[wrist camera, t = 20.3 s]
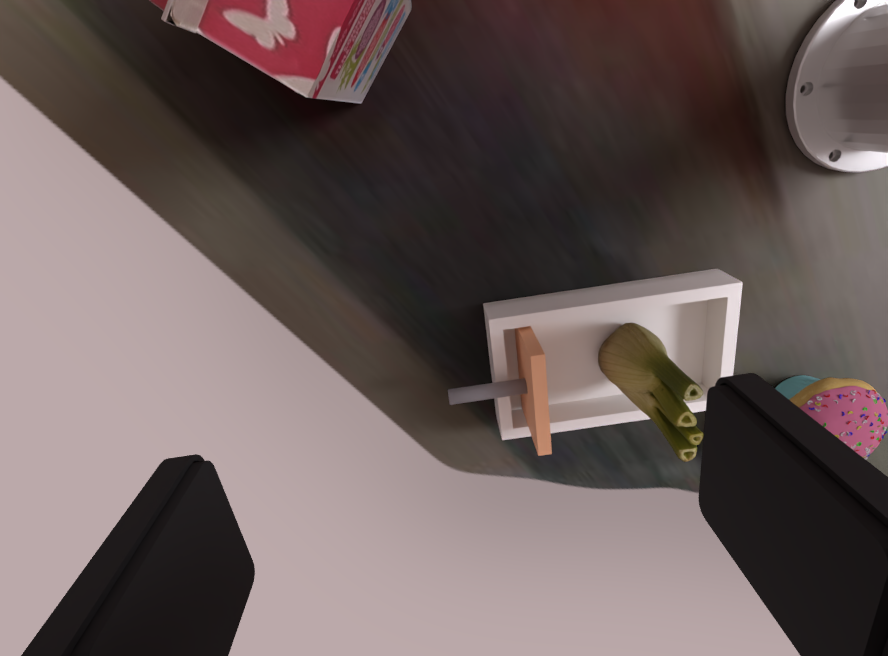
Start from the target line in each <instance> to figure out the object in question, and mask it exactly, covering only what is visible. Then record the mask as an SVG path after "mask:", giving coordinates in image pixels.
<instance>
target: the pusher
mask: <svg viewBox="0 0 888 656" xmlns="http://www.w3.org/2000/svg"><path fill="white" fill-rule="evenodd" d="M515 339H516V350H517V361H518V372H519V379H515V380H508V381H501V382H494V383H488V384H481V385H474V386H467V387H460V388H454V389H448V396H449V403H450V405H453V404H459V403H466V402H473V401H480V400H487V399H494V398H500V397H507V396H514V395H521V404H522V410H523V413H524V415H525V418H526V421H527V424H528V427H529V430H530V433H531V436H532V439H533V441H534V444H535V447H536V450H537V453H538V456H541V455H548V454H552V449H551V434H550V419H549V404H548V389H547V374H546V359H545V353H544V351H543V349H542V347H541V345H540V343H539V341H538V339H537V338H536V336H535V334H534V332H533V330H532V328H531V326H527V327H521V328H515Z"/></svg>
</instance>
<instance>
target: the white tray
mask: <svg viewBox="0 0 888 656" xmlns="http://www.w3.org/2000/svg"><path fill="white" fill-rule="evenodd" d="M742 284H743V282H741V281H740V280H738V279H736V278H734V277H732V276H730V275H728V274H726V273H725V272H723V271H721V270H719V269H710V270H703V271H697V272H690V273H683V274H676V275H670V276H663V277H656V278H650V279H643V280H636V281H629V282H623V283H616V284H609V285H603V286H596V287H589V288H582V289H576V290H569V291H562V292H556V293H549V294H542V295H535V296H529V297H522V298H515V299H509V300H502V301H495V302H488V303H483V308H484V316H485V325H486V334H487V342H488V351H489V359H490V368H491V376H492V383H494V382H501V381H508V380H515V379H519V372H518V361H517V350H516V339H515V328H521V327H527V326H531V328H532V330H533V332H534V334H535V336H536V338H537V339H538V341H539V343H540V345H541V347H542V349H543V351H544V353H545V359H546V374H547V389H548V404H549V419H550V433H556V432H563V431H570V430H577V429H584V428H590V427H597V426H604V425H611V424H618V423H625V422H632V421H639V420H646V419H651V418H649V417H648V416H647V415H646V414H645V413H644V412H642V411H641V410H640V409H639V408H638V407H637V406H636V405H635V404H634V403H632V402H631V400H630V399H629V398H628V397H627V396H626V395H625V394H624V393H622V391H621V390H620V389H619V388H618V387H617V386H616V385H615V384H613V383H612V382H611V381H609V380H608V378H607V377H606V375H605V374H603V373H602V371H601V370H600V367H599V364H598V353H599V349H600V347H601V345H602V343H603V342H604V341H605V340H606V339H607V338H608V337H609V336H610V335H611V334H612V333H613V332H615V331H616V330H617V329H618V328H619V327H620V326H621V325H623V324H625V323H636V324H638V325H640V326H643V327H645V328H646V329H648V330H650V331H651V332H652V333H653V334H655V335H656V336H657V337H658V338H659V339H660V340H661V341H662V343H663V345H664V346H665V348H666V350H667V355H668V357H669V358H670V359H671V360H672V361H673V362H674V363H675V364H676V365H677V366H678V367H679V368H680V369H681V370H682V371H683V372H684V373H685V374H686V375H687V376H688V377H690V378H691V379H692V380H693V381H694V382H695V383H697V384H698V385H699V386H700V388H701V389H702V390H703V395H702V396H701V398H699V399H696V400H690V401H685V400H684V402H685V403H686V405H687V406H688V407H689V409H690V410H691V412H692V413H694V412H701V411H706V402H707V393H708V390H709V388H710V387H713V386H715V384H716V382H717V380H718V379H719V378H721V377H727V376H733V370H734V360H735V351H736V341H737V332H738V322H739V313H740V303H741V294H742ZM494 402H495V410H496V418H497V422H498V426H499V429H500V433H501V437H502V440H508V439H515V438H522V437H528V436H531V433H530V430H529V427H528V424H527V421H526V418H525V415H524V413H523V410H522V404H521V395H514V396H507V397H500V398H494Z"/></svg>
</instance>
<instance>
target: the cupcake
mask: <svg viewBox="0 0 888 656" xmlns="http://www.w3.org/2000/svg"><path fill="white" fill-rule="evenodd" d="M775 389H776V390H777V391H778V392H780V393H781V394H782V395H784V396H785V397H786V398H787V399H789V400H790V401H791V402H793V403H794V404H795V405H796V406H798V407H799V408H800V409H801V410H803V411H804V412H805V413H807V414H808V415H809V416H810V417H812V418H813V419H814V420H815V421H817V422H818V423H819V424H821V425H822V426H823V427H824V428H826V429H827V430H828V431H830V432H831V433H832V434H833V435H835V436H836V437H837V438H838V439H840V440H841V441H842V442H844V443H845V444H846V445H847V446H849V447H850V448H851V449H852V450H854V451H855V452H856V453H858V454H859V455H860V456H861V457H863V458H864V459H867V456H869V455H870V454H871V453H872V452H873V451H874V450H875V449H876V447H877V446H878V445H879V443H880V441H881V439H882V438H883V436H884V435H885V434H886V433H887V425H888V411H887V407H886V404H885V402H886V401H885V399H883V398H882V397H881V396H880V394H879V393H877V392H876V390H875V389H874V388H873V387H872V386H870V385H869V384H867V383H866V382H864V381H861V380H856V379H851V378H843V379H837V378H831V377H829V378H825V379H822V380H821V379H817V378H813V377H810V376H805V375H800V376H794V377H791V378H788V379H786V380H785V381H783V382H781V383H780V384H779V385H778V386H777V387H776V388H775Z"/></svg>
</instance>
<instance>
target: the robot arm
mask: <svg viewBox="0 0 888 656" xmlns="http://www.w3.org/2000/svg"><path fill="white" fill-rule="evenodd" d="M786 117H787V121H788V126H789V130H790V133H791V135H792V137H793V139H794V141H795V144H796V145H797V146H798V147H799V149H800V150H801V151H802V153H803V154H804V155H805V156H806V157H808V158H809V159H810V160H812V161H813V162H814V163H816V164H818V165H820V166H823V167H825V168H827V169H831V170H837V171H842V172H857V173H861V172H868V171H874V170H878V169H881V168H884V167H887V166H888V0H836V1H835V2H834V3H832V5H831V6H830V7H829V8H828V9H827V10H826V11H825V12H824V13H823V14H822V15H821V16H820V18H819V19H818V20H817V21H816V23H815V24H814V26H813V27H812V28H811V30H810V31H809V33H808V34H807V36H806V37H805V39H804V41H803V43H802V45H801V47H800V49H799V51H798V53H797V55H796V57H795V60H794V63H793V66H792V69H791V72H790V75H789V79H788V85H787V91H786ZM699 505H700V509H701V512H702V514H703V516H704V518H705V519H706V521H707V522H708V524H709V525H710V527H711V528H712V530H713V531H714V532H715V534H716V535H717V537H718V538H719V540H720V541H721V542H722V544H723V545H724V547H725V548H726V550H727V551H728V552H729V554H730V555H731V557H732V558H733V560H734V561H735V562H736V564H737V565H738V567H739V568H740V570H741V571H742V572H743V574H744V575H745V577H746V578H747V580H748V581H749V582H750V584H751V585H752V587H753V588H754V590H755V591H756V592H757V594H758V595H759V597H760V598H761V600H762V601H763V602H764V604H765V605H766V607H767V608H768V610H769V611H770V612H771V614H772V615H773V617H774V618H775V619H776V621H777V622H778V624H779V625H780V627H781V628H782V630H783V631H784V632H785V634H786V635H787V637H788V638H789V640H790V641H791V642H792V644H793V645H794V647H795V648H796V650H797V651H798V652H799V654H800V655H801V656H888V477H887V476H886V475H884V474H883V473H882V472H881V471H879V470H878V469H877V468H875V467H874V466H873V465H872V464H870V463H869V462H868V461H867V460H865V459H864V458H863V457H861V456H860V455H859V454H858V453H856V452H855V451H854V450H852V449H851V448H850V447H849V446H847V445H846V444H845V443H844V442H842V441H841V440H840V439H838V438H837V437H836V436H835V435H833V434H832V433H831V432H830V431H828V430H827V429H826V428H824V427H823V426H822V425H821V424H819V423H818V422H817V421H815V420H814V419H813V418H812V417H810V416H809V415H808V414H807V413H805V412H804V411H803V410H801V409H800V408H799V407H798V406H796V405H795V404H794V403H793V402H791V401H790V400H789V399H787V398H786V397H785V396H784V395H782V394H781V393H780V392H778V391H777V390H776V389H775V388H773V387H772V386H771V385H770V384H768V383H767V382H766V381H764V380H763V379H762V378H761V377H759V376H758V375H756V374H754V373H748V374H741V375H734V376H727V377H721V378H719V379H718V380H717V382H716V384H715V386H713V387H710V388H709V390H708V393H707V402H706V414H705V426H704V439H703V451H702V463H701V475H700V487H699ZM254 575H255V570H254V563H253V560H252V558H251V555H250V553H249V550H248V548H247V546H246V543H245V541H244V538H243V536H242V534H241V531H240V528H239V526H238V523H237V521H236V519H235V516H234V514H233V511H232V509H231V506H230V504H229V501H228V499H227V496H226V494H225V492H224V489H223V487H222V484H221V482H220V479H219V477H218V474H217V472H216V469H215V468H214V465H213V464H212V463H211V462H210V461H204V459H203V458H202V457H201V456H200V455H189V456H183V457H176V458H169V459H166V460H164V461H163V462H162V463H161V464H160V465H159V467H158V468H157V469H156V471H155V472H154V473H153V475H152V476H151V477H150V479H149V480H148V482H147V483H146V484H145V486H144V487H143V488H142V490H141V491H140V493H139V494H138V496H137V497H136V498H135V499H134V501H133V502H132V504H131V505H130V507H129V508H128V509H127V511H126V512H125V513H124V515H123V516H122V517H121V519H120V520H119V522H118V523H117V524H116V526H115V527H114V528H113V530H112V531H111V533H110V534H109V535H108V537H107V538H106V539H105V541H104V542H103V544H102V545H101V546H100V548H99V549H98V550H97V552H96V553H95V555H94V556H93V557H92V559H91V560H90V562H89V563H88V564H87V566H86V567H85V568H84V570H83V571H82V573H81V574H80V575H79V577H78V578H77V579H76V581H75V582H74V584H73V585H72V586H71V588H70V589H69V590H68V592H67V593H66V595H65V596H64V597H63V599H62V600H61V602H60V603H59V604H58V606H57V607H56V609H55V610H54V611H53V613H52V614H51V615H50V617H49V618H48V620H47V621H46V623H45V624H44V625H43V626H42V628H41V629H40V631H39V632H38V633H37V635H36V636H35V637H34V639H33V640H32V642H31V643H30V644H29V646H28V647H27V648H26V650H25V651H24V652H23V654H22V655H21V656H228V654H229V652H230V649H231V646H232V642H233V640H234V637H235V634H236V631H237V628H238V626H239V622H240V620H241V617H242V614H243V611H244V608H245V605H246V602H247V600H248V597H249V594H250V590H251V588H252V585H253V582H254Z"/></svg>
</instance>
